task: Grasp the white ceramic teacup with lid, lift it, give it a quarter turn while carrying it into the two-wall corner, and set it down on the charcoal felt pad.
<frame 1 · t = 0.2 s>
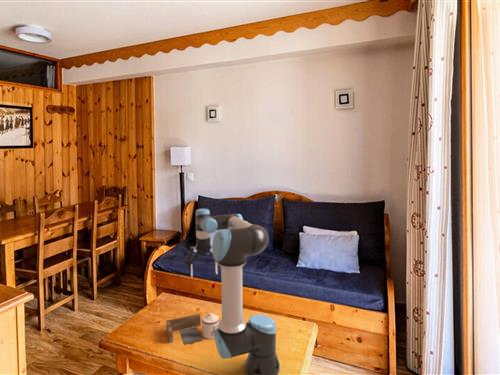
hand: (204, 274, 179), 27 cm above the table, fingers open, 13 cm apart
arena: (187, 332, 170), on the table
teacup with lid: (212, 333, 170), on the table
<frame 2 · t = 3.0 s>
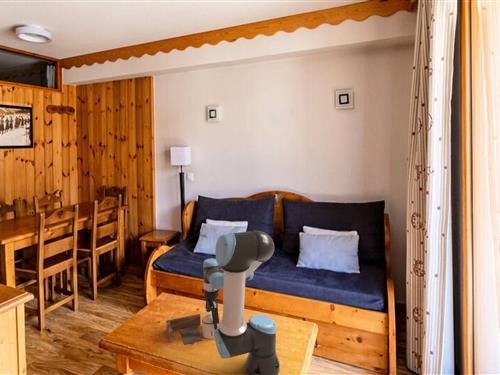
hand: (212, 328, 170), 2 cm above the table, fingers open, 10 cm apart
teacup with lid: (212, 333, 170), on the table, touching gripper
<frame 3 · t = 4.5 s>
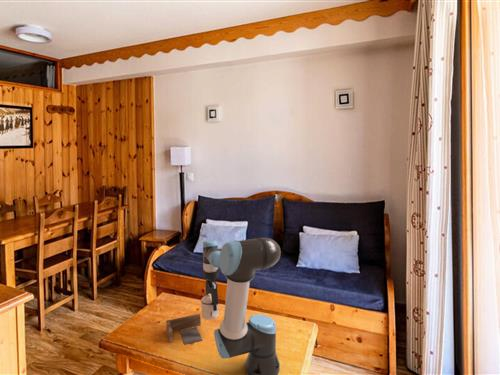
hand: (212, 311, 168), 12 cm above the table, fingers closed on teacup with lid, 9 cm apart
teacup with lid: (211, 314, 169), point 10 cm above the table, touching gripper
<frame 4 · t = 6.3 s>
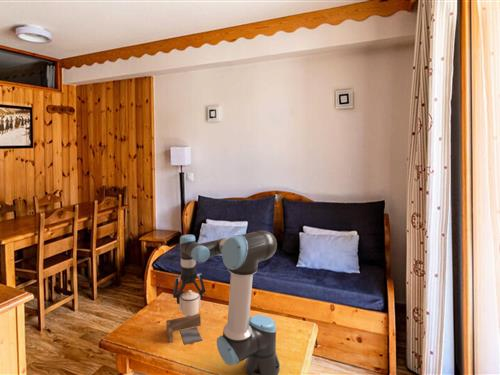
hand: (189, 307, 166), 15 cm above the table, fingers closed on teacup with lid, 9 cm apart
teacup with lid: (188, 311, 166), point 13 cm above the table, touching gripper
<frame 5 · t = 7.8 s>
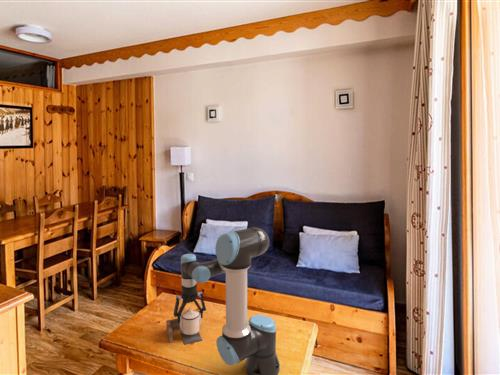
hand: (190, 325, 167), 5 cm above the table, fingers closed on teacup with lid, 9 cm apart
teacup with lid: (188, 330, 167), point 3 cm above the table, touching gripper
when the fingers open (4 cm above the table, at t = 9.2 s): teacup with lid drops 1 cm, resting on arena.
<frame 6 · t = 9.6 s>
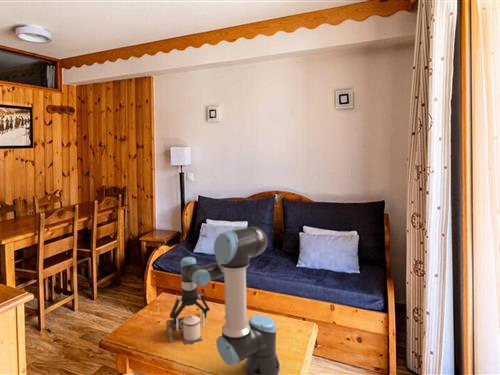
hand: (190, 326, 167), 5 cm above the table, fingers open, 13 cm apart
teacup with lid: (189, 335, 168), resting on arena
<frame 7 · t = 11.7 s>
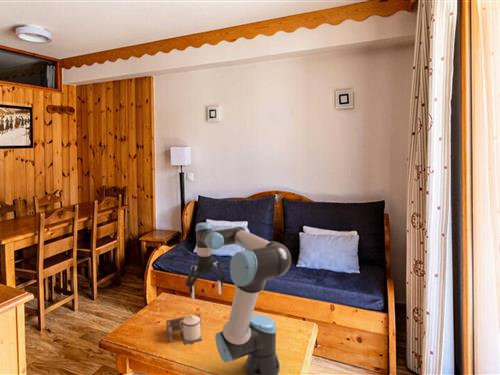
hand: (206, 296, 161), 24 cm above the table, fingers open, 13 cm apart
nothing on the table moved.
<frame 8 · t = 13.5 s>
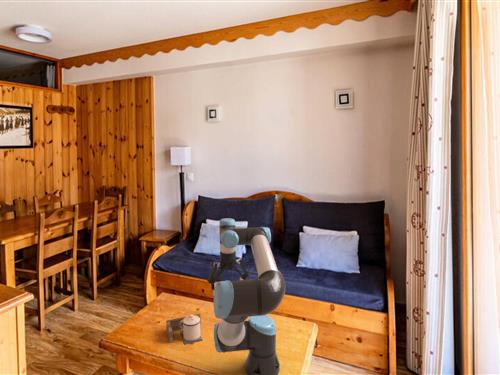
hand: (228, 293, 157), 27 cm above the table, fingers open, 13 cm apart
nothing on the table moved.
at the end: teacup with lid inside the target area (0.6 cm from its centre), resting on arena; teacup with lid tilted 0°; the gripper is holding nothing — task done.
